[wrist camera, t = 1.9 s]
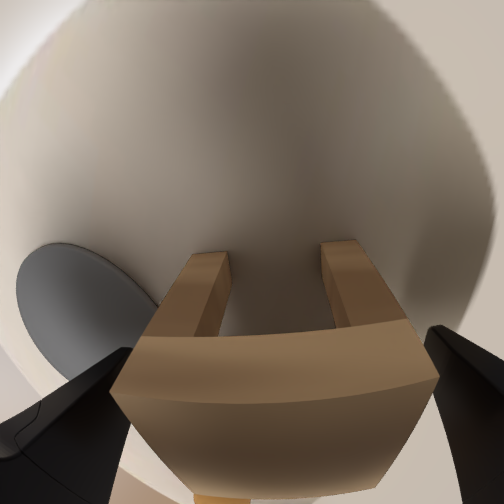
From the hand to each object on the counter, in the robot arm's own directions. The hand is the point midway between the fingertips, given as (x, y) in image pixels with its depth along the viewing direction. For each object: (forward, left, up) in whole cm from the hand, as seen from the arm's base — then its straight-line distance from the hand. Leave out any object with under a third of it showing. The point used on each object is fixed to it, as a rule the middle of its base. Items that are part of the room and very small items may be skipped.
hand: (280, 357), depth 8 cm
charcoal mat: (-1, +8, -2) cm, 9 cm away
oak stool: (0, 0, -2) cm, 2 cm away
